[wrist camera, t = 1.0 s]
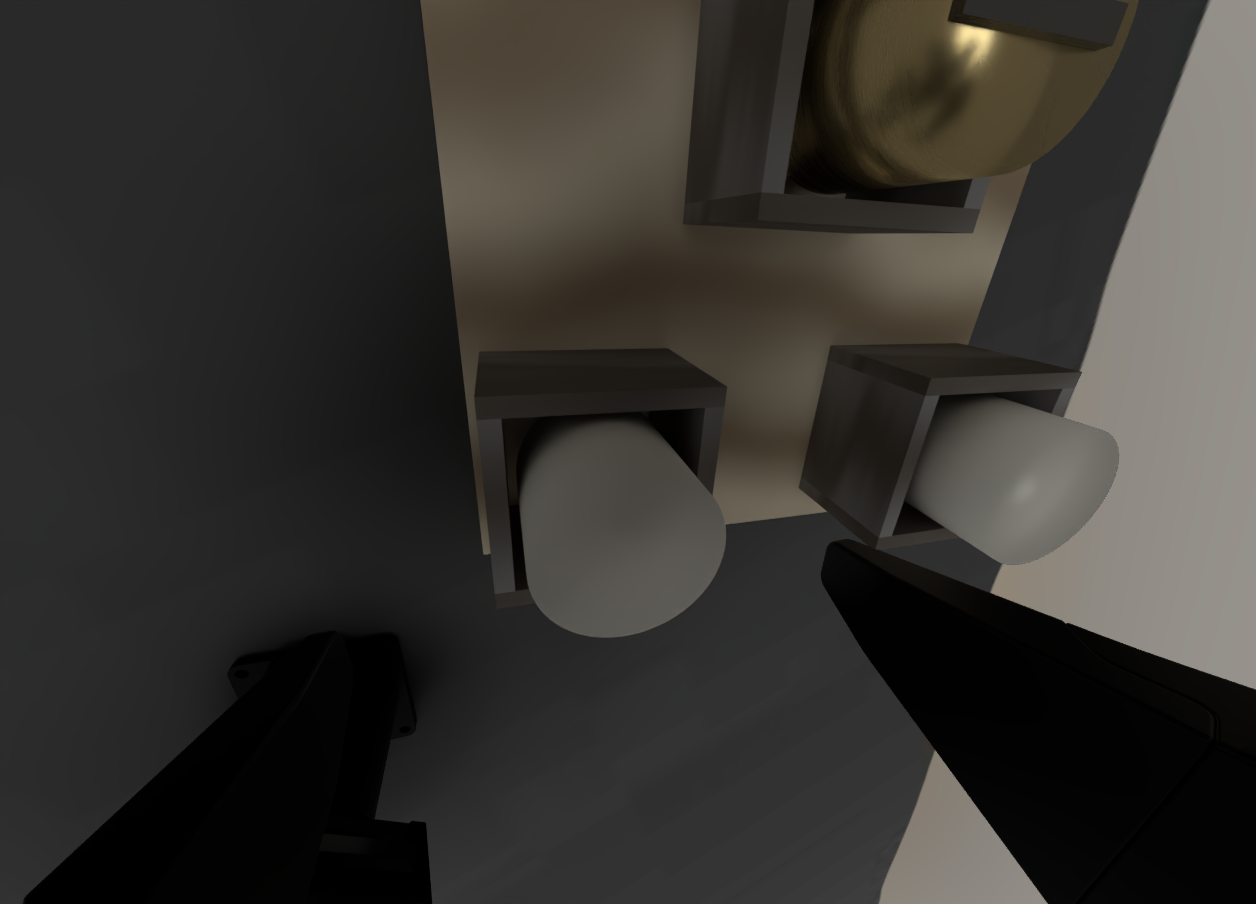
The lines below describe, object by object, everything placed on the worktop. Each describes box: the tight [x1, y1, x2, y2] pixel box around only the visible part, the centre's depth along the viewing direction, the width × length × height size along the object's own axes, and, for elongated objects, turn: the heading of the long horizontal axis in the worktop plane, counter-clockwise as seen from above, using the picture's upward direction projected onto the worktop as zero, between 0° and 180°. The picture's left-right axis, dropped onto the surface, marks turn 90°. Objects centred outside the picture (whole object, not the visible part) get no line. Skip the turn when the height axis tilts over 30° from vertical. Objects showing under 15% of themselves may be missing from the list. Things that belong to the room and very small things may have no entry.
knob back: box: [904, 393, 1119, 565], centre depth 17 cm, size 5×5×5 cm
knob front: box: [516, 411, 726, 638], centre depth 13 cm, size 5×5×5 cm
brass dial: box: [787, 0, 1139, 195], centre depth 10 cm, size 5×5×5 cm
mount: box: [421, 0, 1082, 609], centre depth 16 cm, size 20×22×6 cm
